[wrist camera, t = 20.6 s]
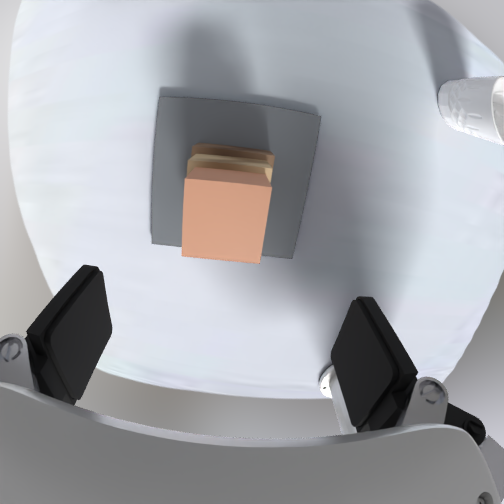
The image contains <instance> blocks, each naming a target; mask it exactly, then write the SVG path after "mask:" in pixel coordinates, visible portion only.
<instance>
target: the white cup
mask: <svg viewBox="0 0 504 504" xmlns="http://www.w3.org/2000/svg"><path fill="white" fill-rule="evenodd" d="M438 106H439V109H440V112H441V115H442V117H443V119H444V120H445V122H446V123H447V125H448V126H450V127H452V128H453V129H455V130H457V131H461V132H465V133H467V134H470V135H473V136H476V137H479V138H482V139H485V140H488V141H491V142H494V143H497V144H500V145H502V146H504V76H491V77H473V78H464V79H460V80H451V81H447V82H446V83H444V84H443V85H442V86H441V88H440V91H439V93H438Z"/></svg>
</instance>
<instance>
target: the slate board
mask: <svg viewBox="0 0 504 504" xmlns="http://www.w3.org/2000/svg"><path fill="white" fill-rule="evenodd" d="M320 121H321V116H318V115H314V114H309V113H305V112H300V111H295V110H289V109H284V108H278V107H272V106H266V105H259V104H252V103H245V102H236V101H227V100H216V99H203V98H185V97H160V98H159V106H158V114H157V124H156V134H155V146H154V161H153V180H152V244H158V245H168V246H177V247H182V223H183V201H184V184H185V178H186V177H187V165H188V160H189V159H190V158H191V153H192V146H194V145H195V144H197V143H209V144H219V145H229V146H237V147H245V148H253V149H260V150H267V151H271V152H272V153H273V154H274V155H275V159H274V165H273V171H272V177H271V183H270V184H271V186H272V191H271V197H270V204H269V210H268V216H267V222H266V228H265V235H264V241H263V247H262V253H261V256H270V257H279V258H289V259H292V258H293V254H294V249H295V245H296V241H297V236H298V232H299V227H300V223H301V218H302V213H303V209H304V204H305V199H306V194H307V190H308V185H309V180H310V175H311V170H312V165H313V159H314V154H315V149H316V143H317V138H318V132H319V127H320Z"/></svg>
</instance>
